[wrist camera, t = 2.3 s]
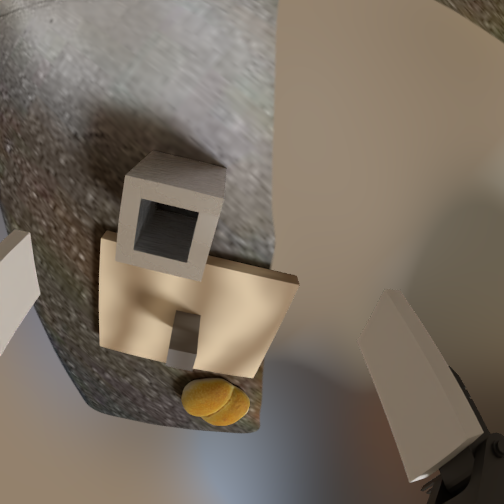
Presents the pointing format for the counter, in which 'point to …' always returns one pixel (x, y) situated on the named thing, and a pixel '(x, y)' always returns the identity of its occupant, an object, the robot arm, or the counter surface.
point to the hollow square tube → (169, 214)
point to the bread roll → (215, 401)
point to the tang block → (192, 312)
